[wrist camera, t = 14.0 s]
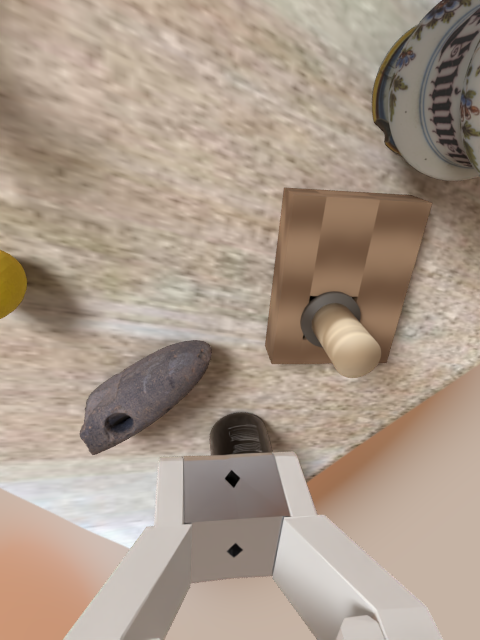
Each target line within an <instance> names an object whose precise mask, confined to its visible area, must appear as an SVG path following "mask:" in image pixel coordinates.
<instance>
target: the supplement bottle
mask: <svg viewBox="0 0 480 640" xmlns="http://www.w3.org/2000/svg"><path fill="white" fill-rule="evenodd" d="M210 451H211V456H212V455H232V454H251V453H269V452H270V453H272V452H273V451H272V447H271V443H270V440H269V436H268V433H267V429H266V427H265V425H264V423H263V422H262V420H261V419H259V418H258V417H257V416H255V415H252V414H249V413H242V412H240V413H233V414H229V415H227V416H225V417H223V418H221V419H220V420H219V421H218V422H216V424H215V425H214V426H213V428H212V430H211V432H210Z"/></svg>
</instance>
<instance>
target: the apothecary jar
mask: <svg viewBox="0 0 480 640" xmlns="http://www.w3.org/2000/svg"><path fill="white" fill-rule="evenodd" d="M372 113H373V120H374V123H376V124H377V125H378V126H379V127H380V128H381V129H382V130H383V131H384V133H385V141H384V142H385V144H386V145H387V146H388V147H389V148H390V149H392V150H393V151H394V152H396V153H398V154H400V155H402V156H403V158H404V159H405V160H406V161H407V162H408V163H409V164H410V165H411V166H412V167H413V168H415V169H416V170H417V171H419V172H421V173H423V174H425V175H427V176H429V177H432V178H435V179H439V180H445V181H462V180H468V179H473V178H476V177H480V0H442V1H441V2H440V3H438V4H437V5H436V6H435V7H434V8H433V9H432V10H431V11H430V12H429V13H428V14H427V15H426V16H425V17H424V18H423V19H422V20H421V21H420V23H419V24H418V25H417V26H415V27H413V28H412V29H410V30H409V31H408V32H406V33H405V34H404V35H403V36H402V37H401V38H400V39H399V40H398V41H397V42H396V43H395V44H394V45H393V47H392V48H391V49H390V51H389V52H388V53H387V55H386V57H385V58H384V60H383V62H382V64H381V66H380V68H379V71H378V74H377V76H376V80H375V83H374V88H373V94H372Z"/></svg>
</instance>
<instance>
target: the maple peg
mask: <svg viewBox="0 0 480 640" xmlns="http://www.w3.org/2000/svg"><path fill="white" fill-rule="evenodd" d="M360 320H361V312H360V308H359V306H358V304H357V303H356V302H355V301H354V300H353V299H352V298H351V297H350V296H349V295H347V294H345V293H343V292H337V291H331V292H326V293H323V294H320V295H318V296H310V299H309V303H308V304H307V305H306V307H305V308H304V310H303V312H302V315H301V320H300V325H301V330H302V332H303V334H304V336H305V337H306V339H307V340H308V341H309V342H310V343H312V344H313V345H315V346H318V347H322V348H324V350H325V352H326V353H327V355H328V357H329V358H330V360H331V361H332V363H333V365H334V366H335V368H336V370H337V371H338V372H339V373H340V374H341V375H343V376H345V377H348V378H357V377H361V376H364V375H366V374H368V373H369V372H371V371H372V370H373V369H374V368H375V367H376V366H377V364H378V363H379V361H380V358H381V348H380V346H379V344H378V343H377V342H376V341H375V339H374V338H373V337H372V336H371V335H370V334H369V332H368V331H367V330H366V329H365V328H364V327H363V325H362V324H361V323H360Z"/></svg>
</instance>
